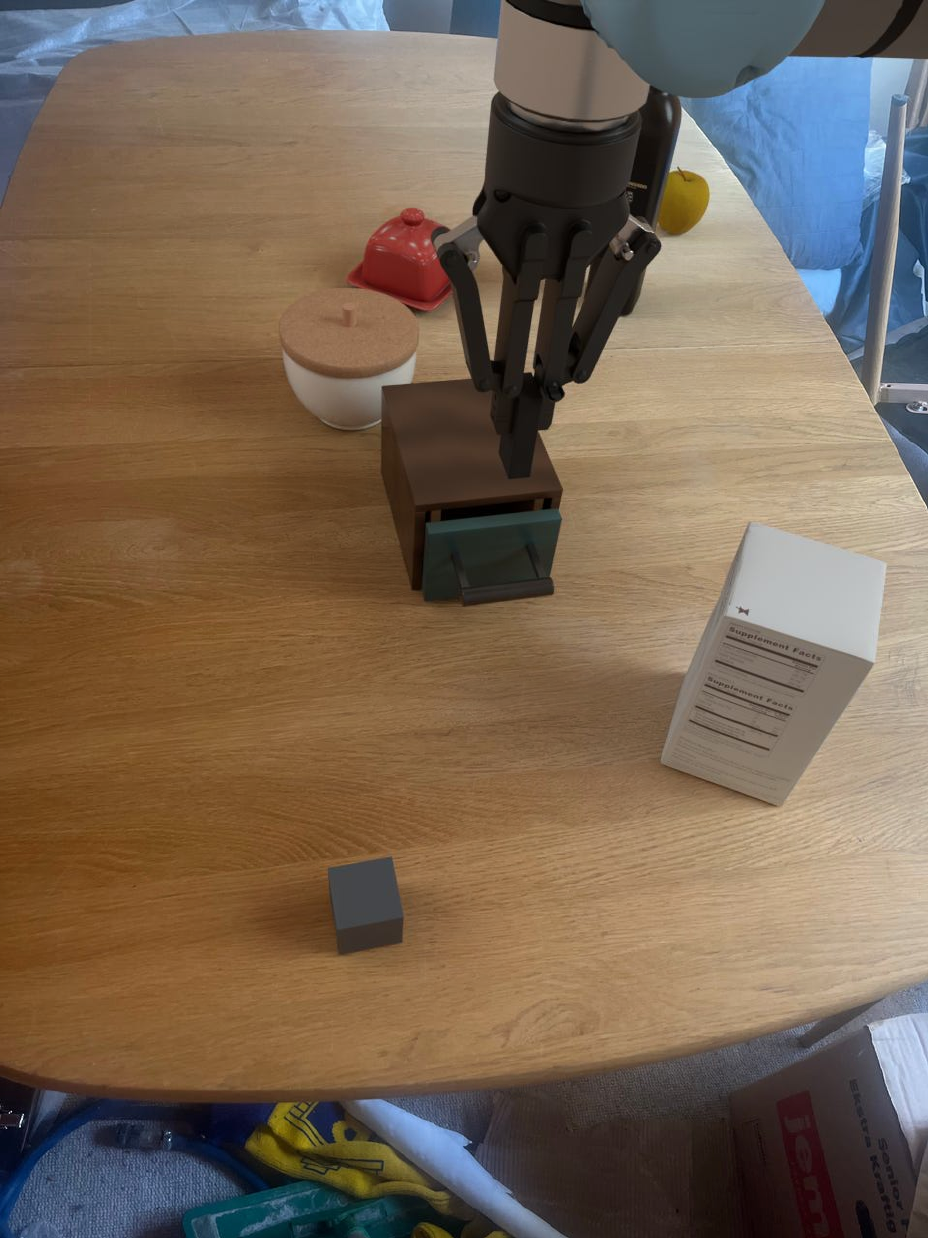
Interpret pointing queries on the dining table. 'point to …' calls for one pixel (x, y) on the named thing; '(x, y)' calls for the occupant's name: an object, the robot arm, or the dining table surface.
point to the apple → (683, 201)
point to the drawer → (490, 552)
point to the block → (365, 905)
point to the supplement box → (776, 662)
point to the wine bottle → (649, 171)
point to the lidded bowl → (347, 353)
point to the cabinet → (448, 460)
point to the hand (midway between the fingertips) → (514, 464)
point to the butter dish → (404, 262)
